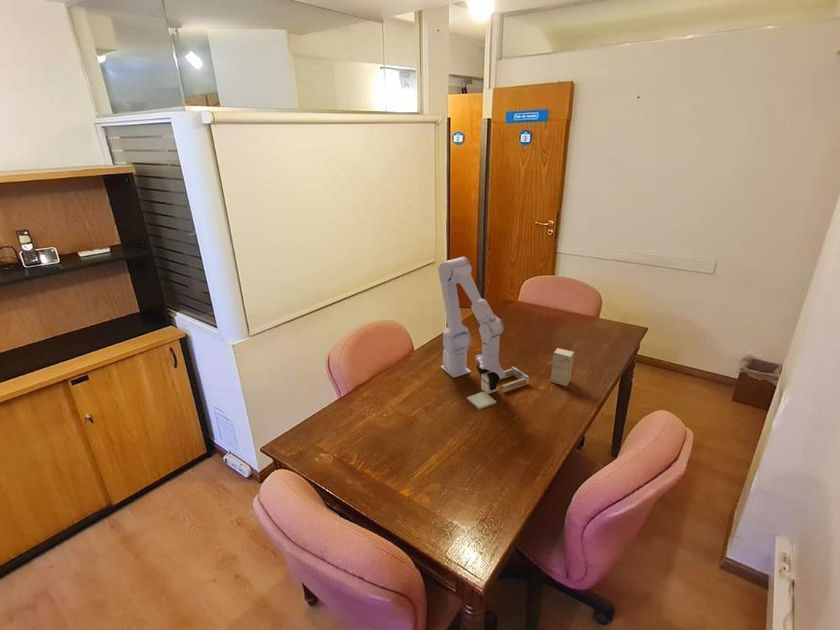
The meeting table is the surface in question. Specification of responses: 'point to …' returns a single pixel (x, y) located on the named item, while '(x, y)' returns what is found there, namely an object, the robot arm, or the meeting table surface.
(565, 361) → the skincare box
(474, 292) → the robot arm
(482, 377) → the block
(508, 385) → the shelf bay
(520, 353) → the meeting table surface
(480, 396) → the stand tile
